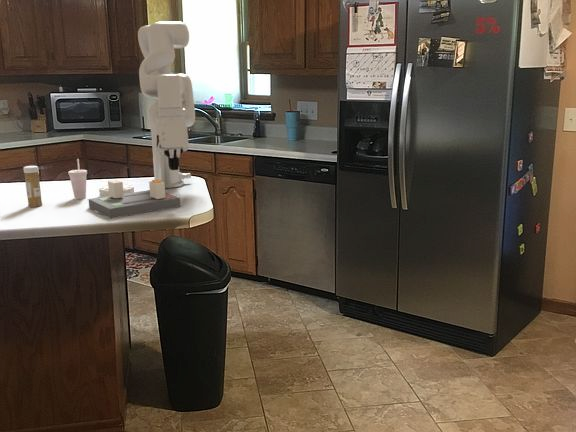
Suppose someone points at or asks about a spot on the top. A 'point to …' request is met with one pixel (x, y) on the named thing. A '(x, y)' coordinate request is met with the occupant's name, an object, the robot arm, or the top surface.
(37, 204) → the sprinkles bottle
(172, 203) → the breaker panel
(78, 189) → the smoothie
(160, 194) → the breaker
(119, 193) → the block
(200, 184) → the top surface
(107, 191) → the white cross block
